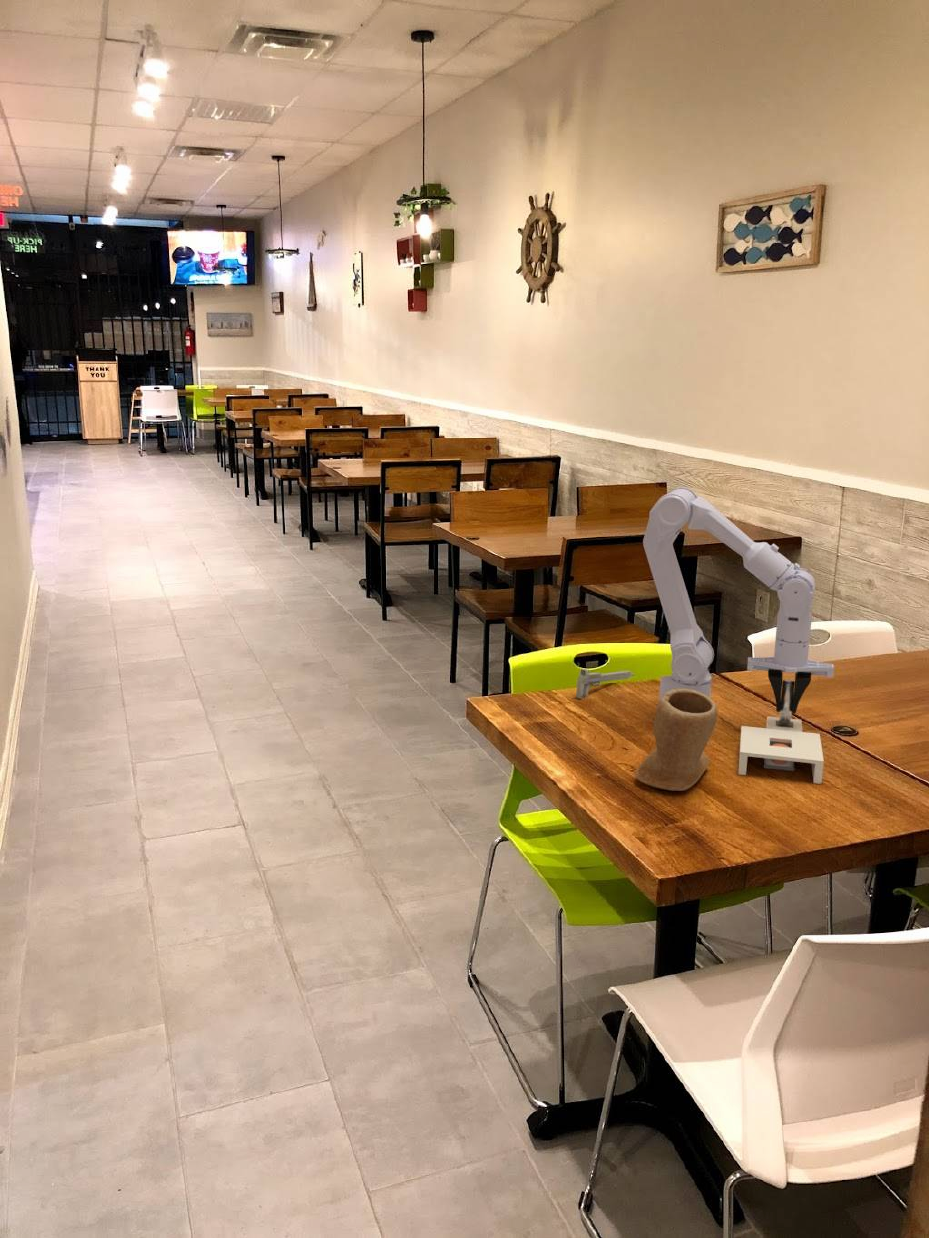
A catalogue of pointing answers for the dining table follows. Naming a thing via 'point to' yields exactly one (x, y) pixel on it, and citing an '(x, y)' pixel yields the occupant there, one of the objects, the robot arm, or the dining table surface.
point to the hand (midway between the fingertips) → (785, 710)
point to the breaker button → (779, 762)
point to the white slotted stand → (781, 748)
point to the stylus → (786, 703)
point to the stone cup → (679, 740)
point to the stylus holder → (774, 724)
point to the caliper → (596, 680)
